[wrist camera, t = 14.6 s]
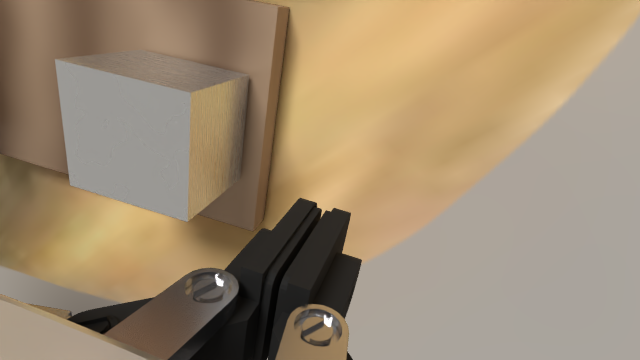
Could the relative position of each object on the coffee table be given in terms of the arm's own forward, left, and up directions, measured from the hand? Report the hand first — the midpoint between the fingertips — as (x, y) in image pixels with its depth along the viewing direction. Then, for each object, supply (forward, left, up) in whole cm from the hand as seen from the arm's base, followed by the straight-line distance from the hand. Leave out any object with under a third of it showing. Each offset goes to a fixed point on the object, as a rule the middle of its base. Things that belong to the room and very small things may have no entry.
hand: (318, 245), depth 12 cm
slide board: (-17, 0, -9) cm, 19 cm away
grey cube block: (-9, 0, -8) cm, 12 cm away
